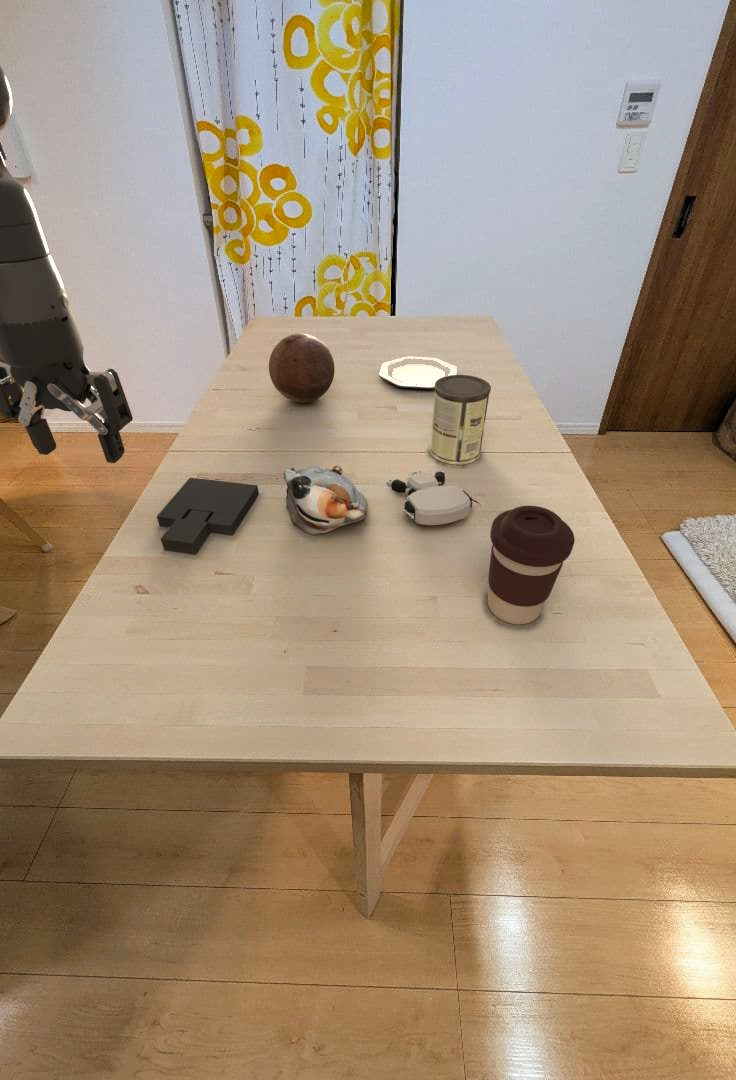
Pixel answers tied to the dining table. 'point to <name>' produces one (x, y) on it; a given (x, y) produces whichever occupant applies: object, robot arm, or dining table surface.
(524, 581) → the coffee cup
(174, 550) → the black pad
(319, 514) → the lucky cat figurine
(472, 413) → the coffee can
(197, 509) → the base pad
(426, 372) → the plate
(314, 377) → the wooden sphere
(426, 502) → the robot toy
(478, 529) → the dining table surface
